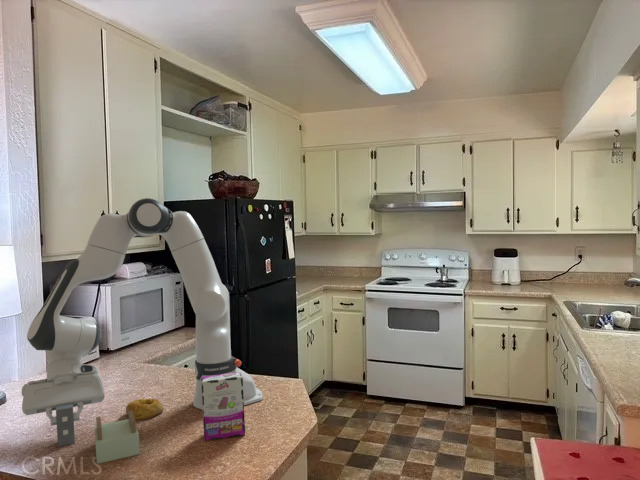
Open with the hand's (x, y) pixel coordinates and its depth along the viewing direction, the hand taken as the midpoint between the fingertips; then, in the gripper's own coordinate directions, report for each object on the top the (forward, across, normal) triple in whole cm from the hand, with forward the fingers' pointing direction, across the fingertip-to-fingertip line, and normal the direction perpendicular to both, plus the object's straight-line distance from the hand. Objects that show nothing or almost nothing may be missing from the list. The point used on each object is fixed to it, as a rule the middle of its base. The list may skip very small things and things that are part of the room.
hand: (65, 422), depth 130 cm
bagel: (-3, +21, +12) cm, 25 cm away
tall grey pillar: (+4, 0, +5) cm, 6 cm away
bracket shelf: (+12, +12, -3) cm, 17 cm away
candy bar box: (+16, +39, -7) cm, 43 cm away
